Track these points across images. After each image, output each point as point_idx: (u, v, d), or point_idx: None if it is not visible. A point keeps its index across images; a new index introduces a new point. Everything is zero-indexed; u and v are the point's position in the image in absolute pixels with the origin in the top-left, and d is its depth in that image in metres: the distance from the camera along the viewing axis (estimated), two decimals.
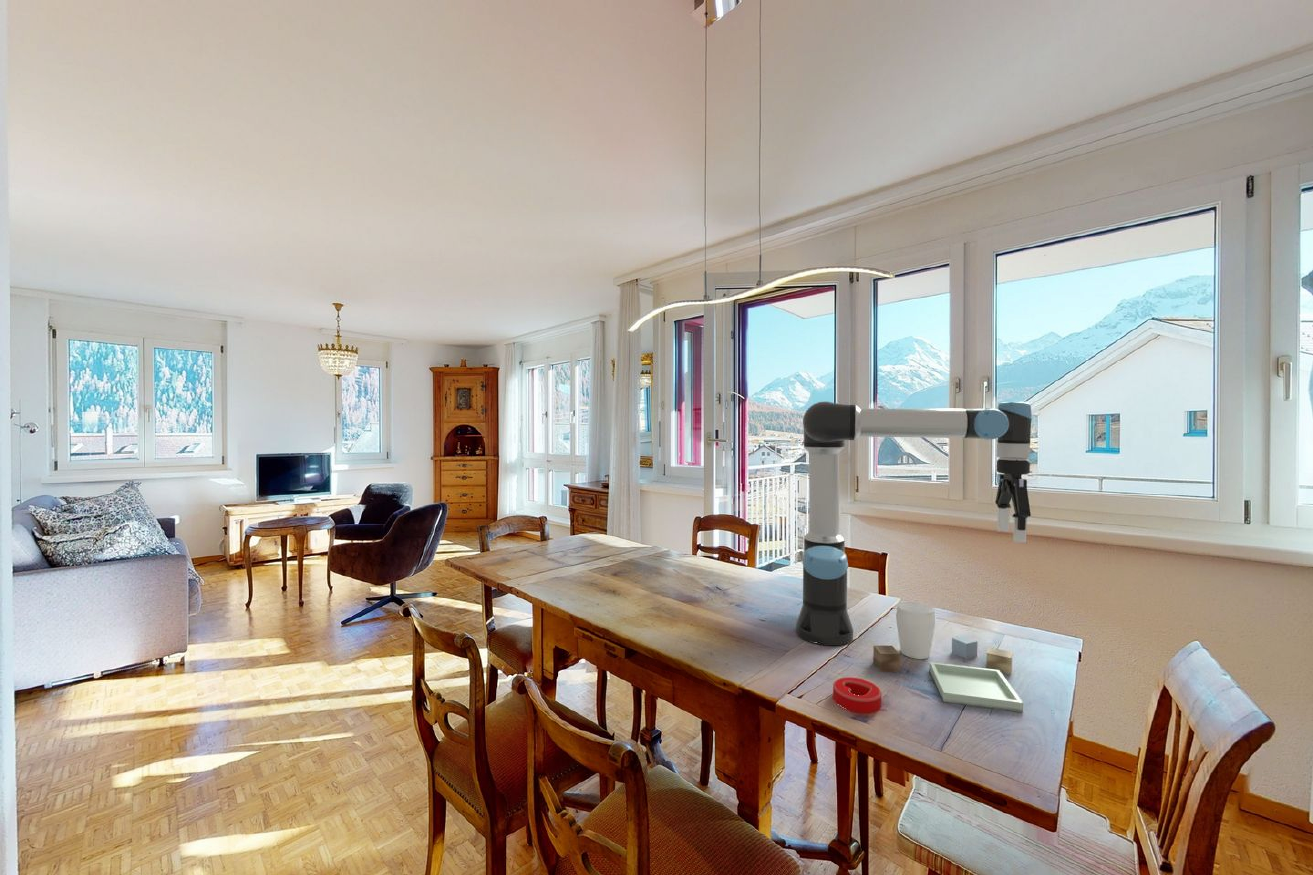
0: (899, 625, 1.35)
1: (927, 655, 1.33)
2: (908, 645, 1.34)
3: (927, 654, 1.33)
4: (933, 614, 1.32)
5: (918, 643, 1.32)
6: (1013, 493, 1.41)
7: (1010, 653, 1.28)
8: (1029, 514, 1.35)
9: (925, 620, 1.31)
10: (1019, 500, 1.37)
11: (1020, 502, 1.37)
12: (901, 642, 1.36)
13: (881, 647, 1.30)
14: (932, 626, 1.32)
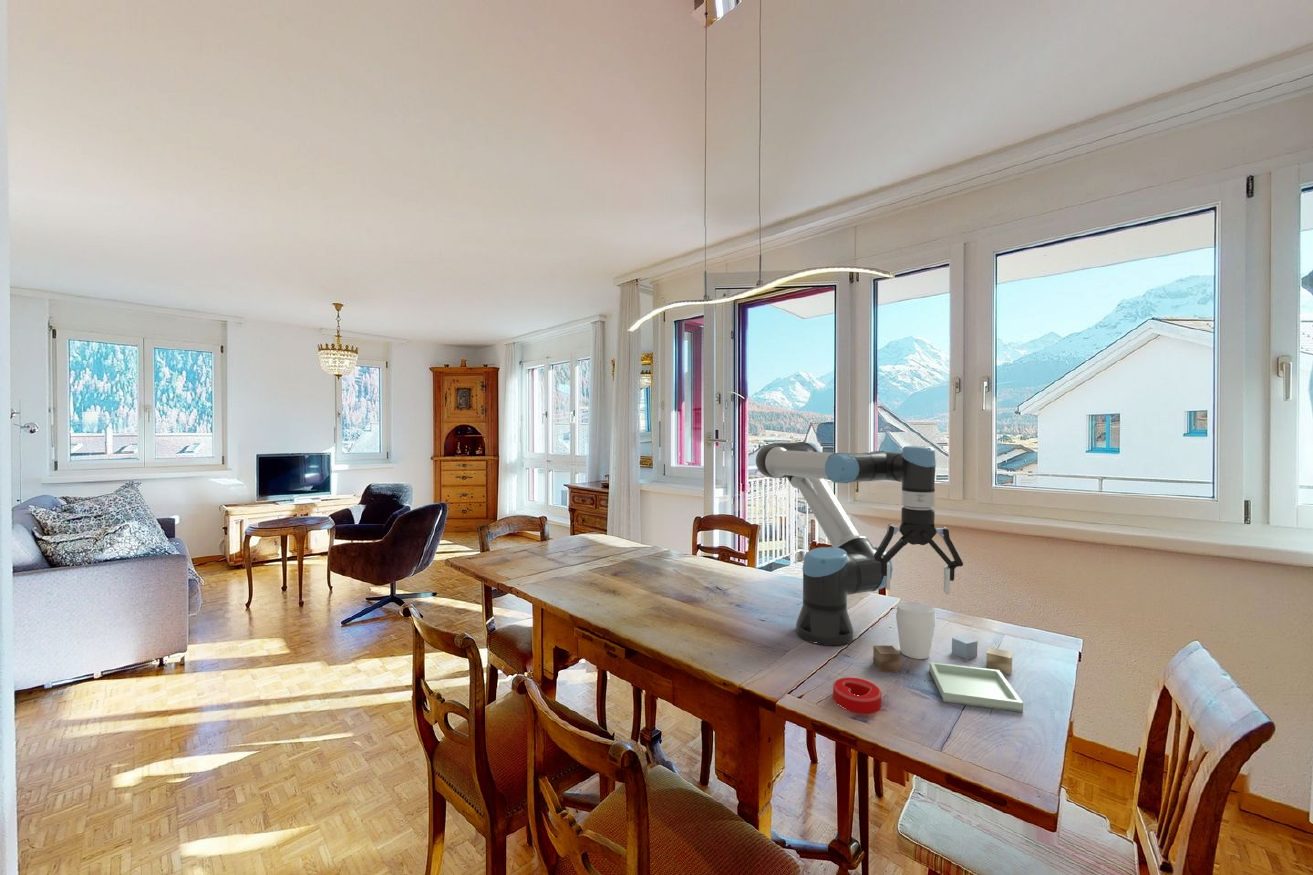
0: (899, 625, 1.35)
1: (927, 655, 1.33)
2: (908, 645, 1.34)
3: (927, 654, 1.33)
4: (933, 614, 1.32)
5: (918, 643, 1.32)
6: None
7: (1010, 653, 1.28)
8: (874, 558, 1.37)
9: (925, 620, 1.31)
10: (880, 544, 1.38)
11: (879, 546, 1.38)
12: (901, 642, 1.36)
13: (881, 647, 1.30)
14: (932, 626, 1.32)
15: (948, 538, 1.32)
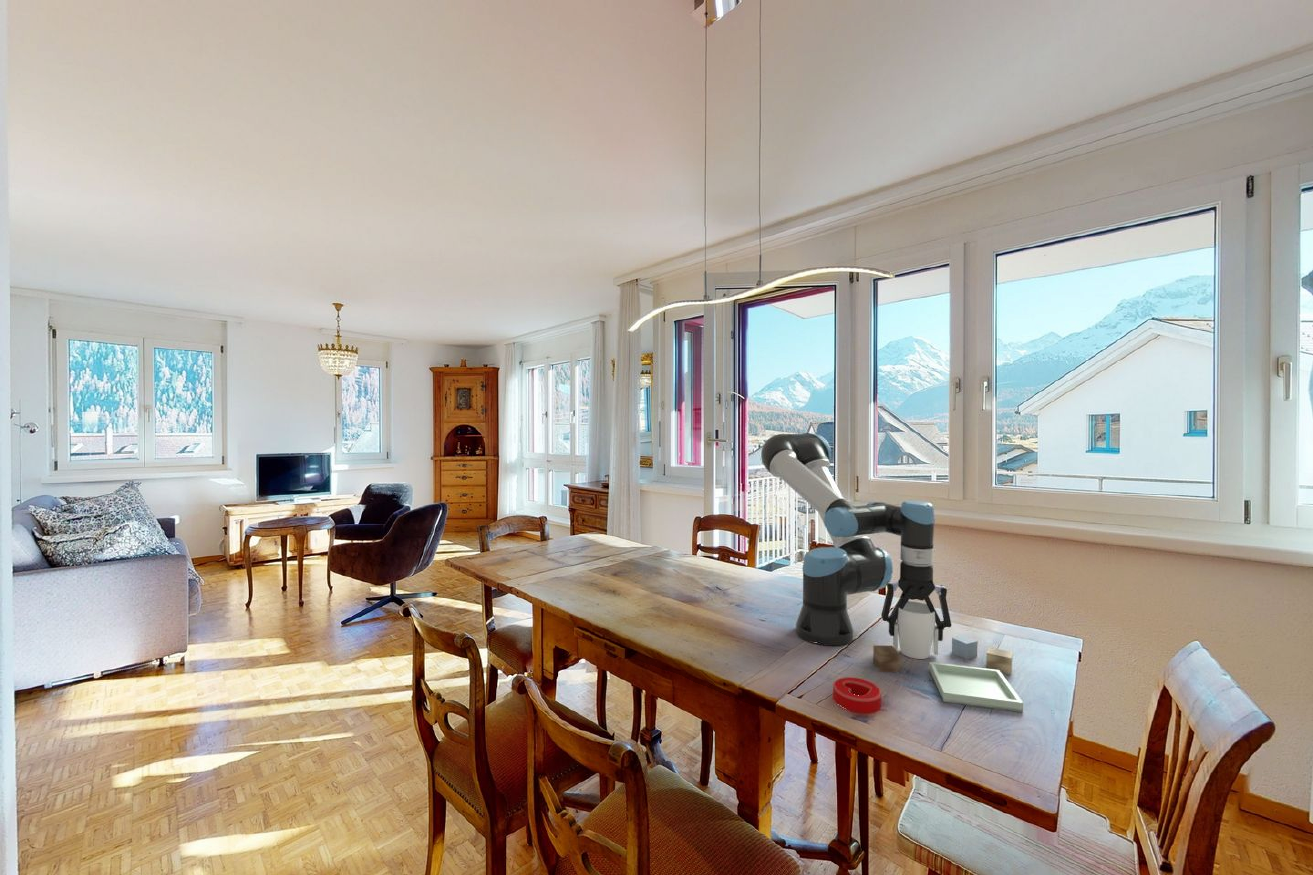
0: (899, 625, 1.35)
1: (927, 655, 1.33)
2: (908, 645, 1.34)
3: (927, 654, 1.33)
4: (933, 614, 1.32)
5: (918, 643, 1.32)
6: (900, 597, 1.37)
7: (1010, 653, 1.28)
8: (882, 618, 1.37)
9: (925, 620, 1.31)
10: (884, 602, 1.38)
11: (884, 605, 1.38)
12: (901, 642, 1.36)
13: (881, 647, 1.30)
14: (932, 626, 1.32)
15: (944, 598, 1.33)
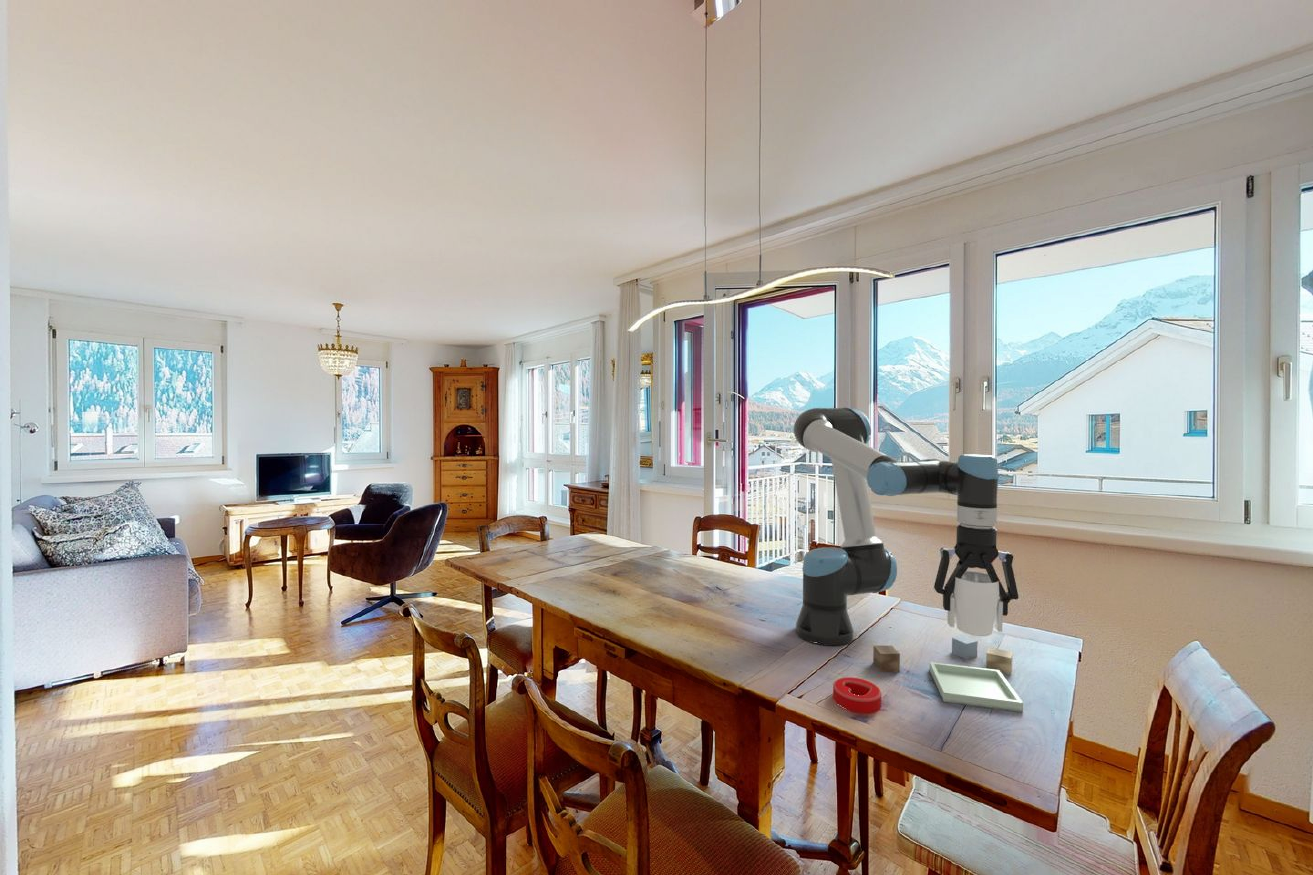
0: (956, 597, 1.17)
1: (990, 632, 1.15)
2: (968, 621, 1.15)
3: (990, 630, 1.15)
4: (997, 584, 1.14)
5: (980, 617, 1.14)
6: (956, 566, 1.19)
7: (1010, 653, 1.28)
8: (936, 590, 1.19)
9: (988, 591, 1.13)
10: None
11: (937, 575, 1.20)
12: (958, 617, 1.17)
13: (881, 647, 1.30)
14: (996, 598, 1.14)
15: (1010, 565, 1.14)
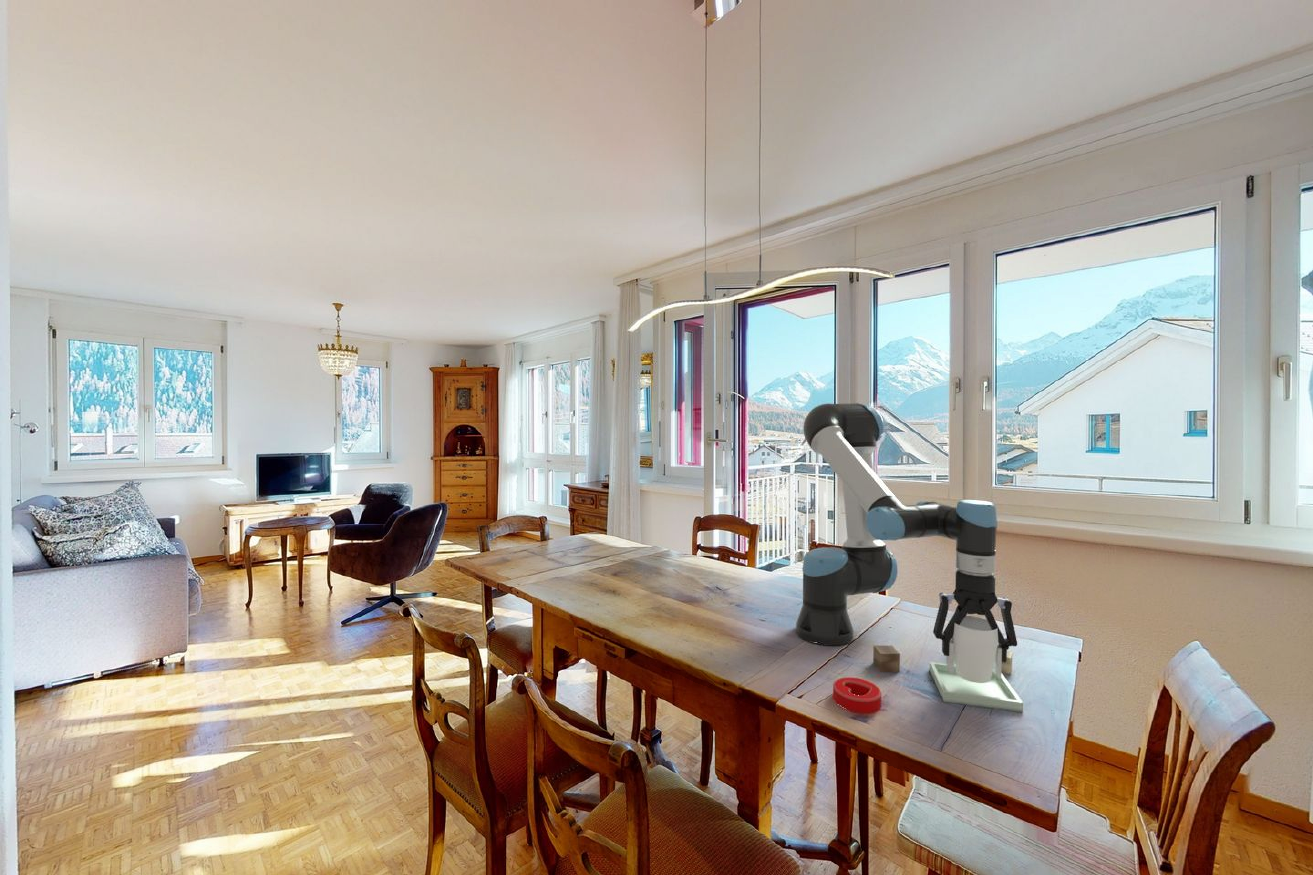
0: (955, 643, 1.17)
1: (989, 678, 1.15)
2: (967, 667, 1.16)
3: (989, 677, 1.15)
4: (996, 631, 1.14)
5: (979, 664, 1.14)
6: (955, 611, 1.19)
7: (1010, 653, 1.28)
8: (935, 635, 1.19)
9: (987, 638, 1.13)
10: (937, 617, 1.20)
11: (936, 620, 1.20)
12: (958, 663, 1.18)
13: (881, 647, 1.30)
14: (995, 645, 1.14)
15: (1009, 612, 1.15)
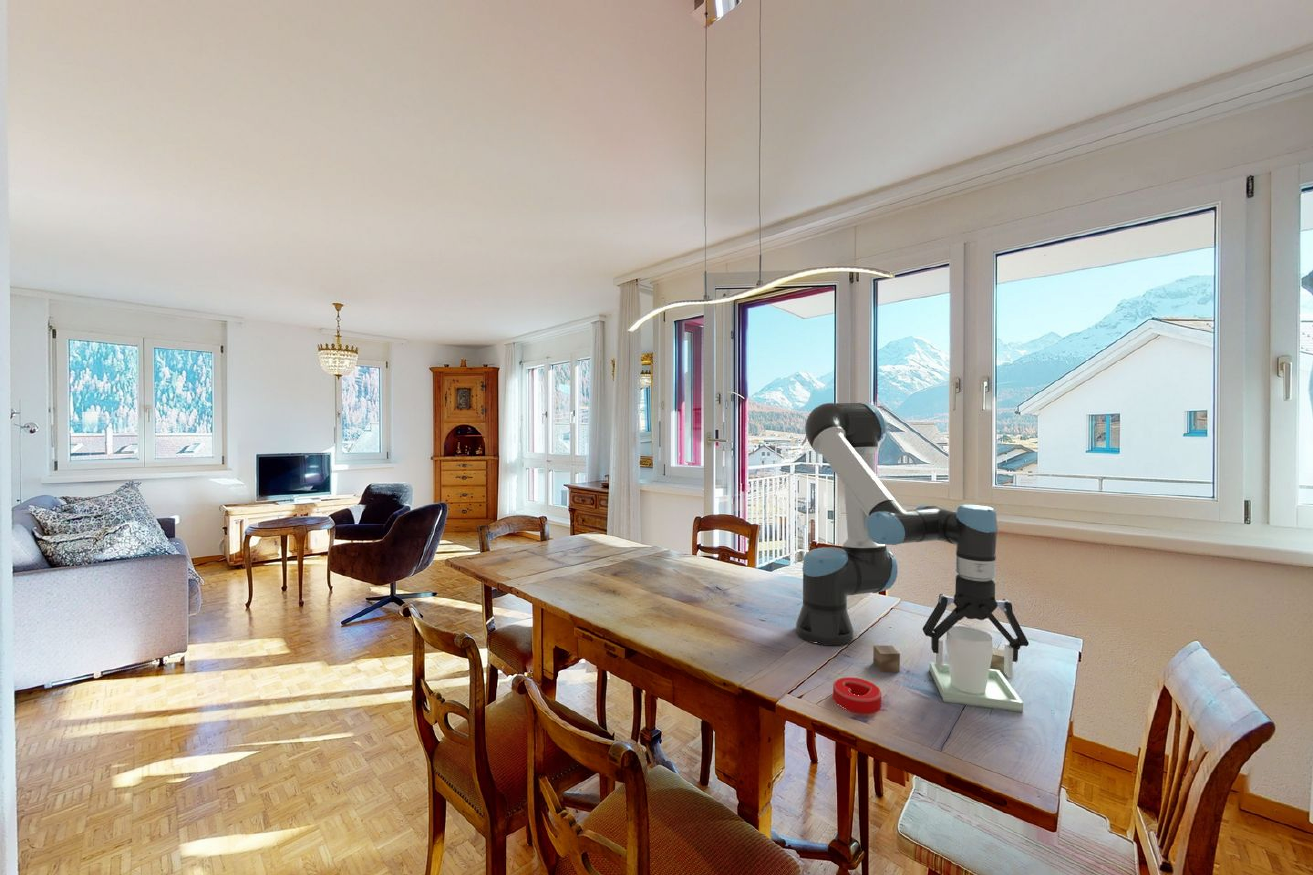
0: (950, 654, 1.18)
1: (983, 689, 1.16)
2: (962, 678, 1.16)
3: (984, 688, 1.15)
4: (991, 642, 1.15)
5: (974, 676, 1.15)
6: (952, 612, 1.20)
7: None
8: (924, 632, 1.20)
9: (982, 650, 1.14)
10: (930, 616, 1.21)
11: (929, 618, 1.21)
12: (952, 674, 1.18)
13: (881, 647, 1.30)
14: (990, 656, 1.14)
15: (1011, 613, 1.14)
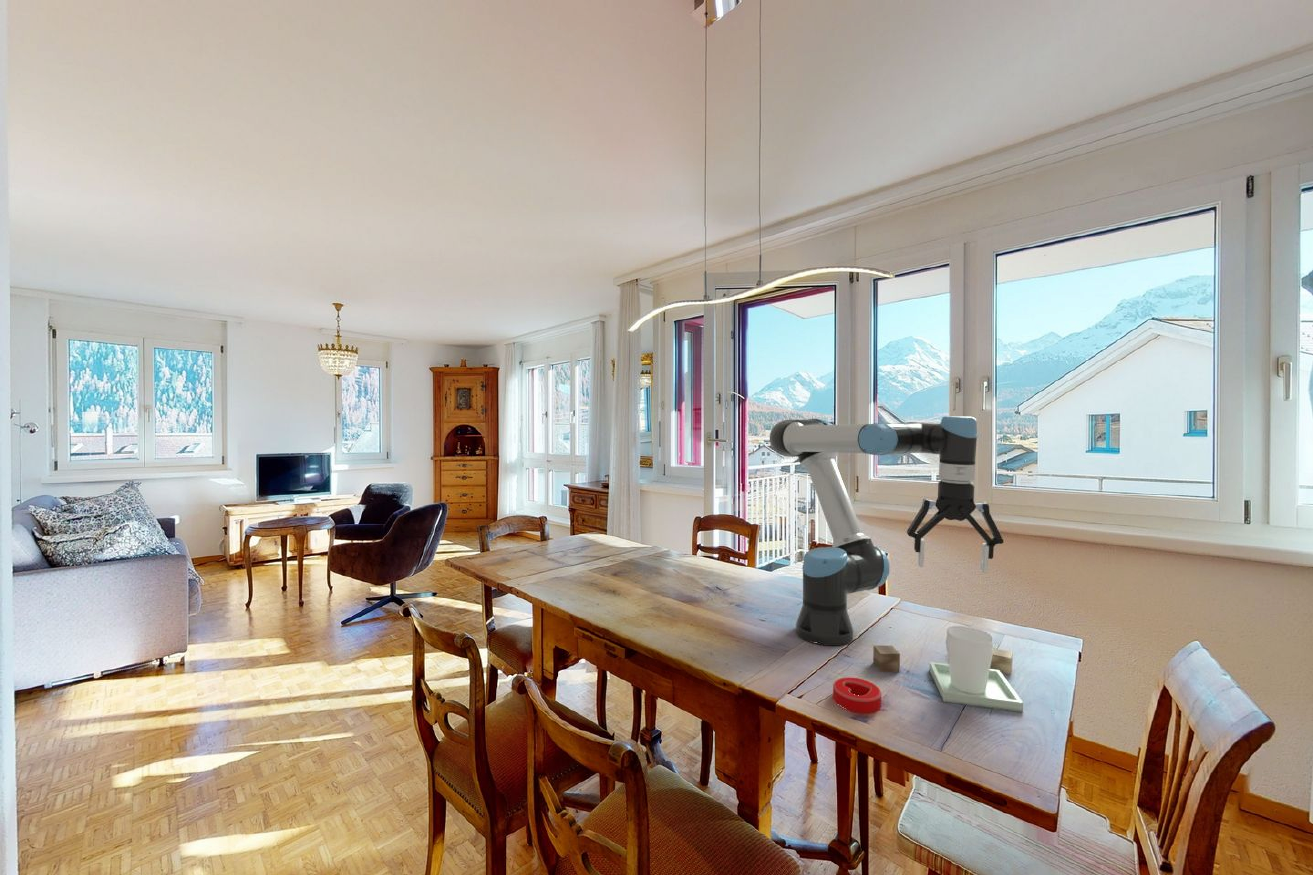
0: (950, 654, 1.18)
1: (984, 689, 1.16)
2: (962, 678, 1.16)
3: (984, 688, 1.15)
4: (991, 642, 1.15)
5: (974, 676, 1.15)
6: (934, 516, 1.30)
7: (1010, 653, 1.28)
8: (908, 533, 1.30)
9: (982, 650, 1.14)
10: (914, 519, 1.31)
11: (913, 521, 1.31)
12: (952, 674, 1.18)
13: (881, 647, 1.30)
14: (990, 656, 1.14)
15: (988, 514, 1.24)
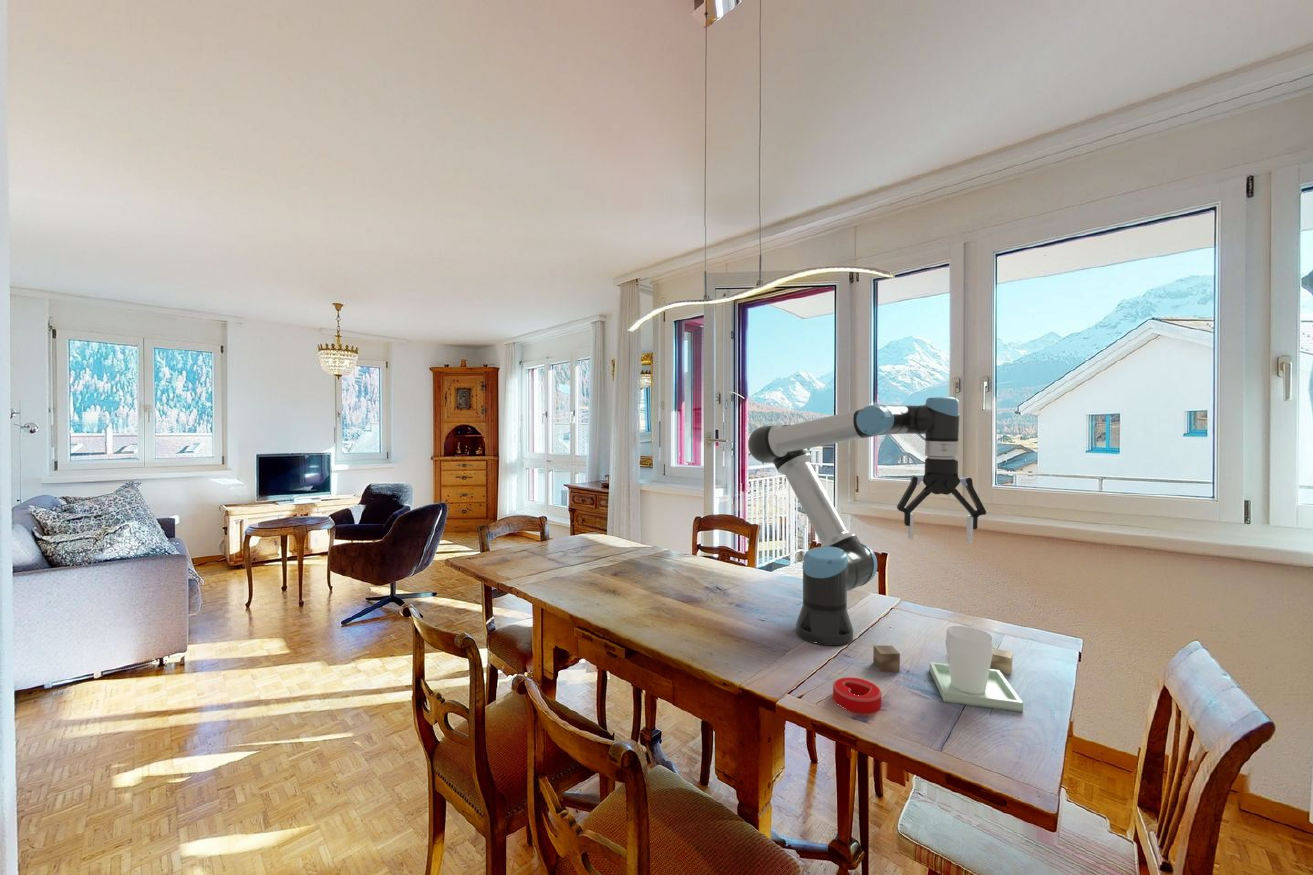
0: (950, 654, 1.18)
1: (984, 689, 1.16)
2: (962, 678, 1.16)
3: (984, 688, 1.15)
4: (991, 642, 1.15)
5: (974, 676, 1.15)
6: None
7: (1010, 653, 1.28)
8: (898, 508, 1.39)
9: (982, 650, 1.14)
10: (903, 495, 1.40)
11: (902, 497, 1.40)
12: (952, 674, 1.18)
13: (881, 647, 1.30)
14: (990, 656, 1.14)
15: (971, 487, 1.33)
